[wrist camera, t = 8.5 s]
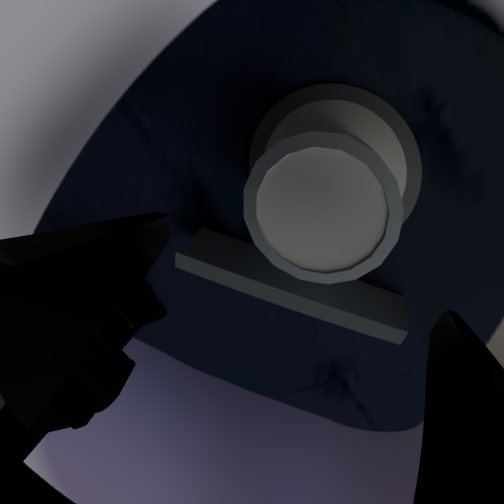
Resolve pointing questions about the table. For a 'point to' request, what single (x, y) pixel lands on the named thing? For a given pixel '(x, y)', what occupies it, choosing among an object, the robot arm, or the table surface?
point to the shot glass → (323, 206)
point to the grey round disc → (346, 129)
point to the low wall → (294, 287)
